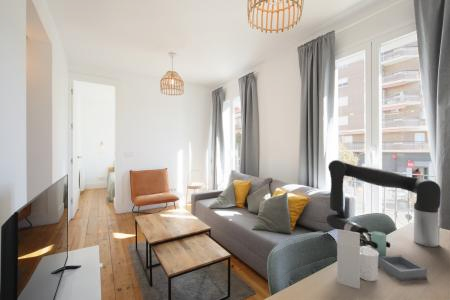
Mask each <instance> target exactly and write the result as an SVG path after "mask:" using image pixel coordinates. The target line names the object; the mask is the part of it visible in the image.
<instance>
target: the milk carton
mask: <svg viewBox="0 0 450 300" xmlns="http://www.w3.org/2000/svg"><path fill="white" fill-rule="evenodd" d="M336 246H337V247H336V248H337V252H336V255H337V256H336V257H337V259H336V260H337V261H336V262H337V264H336V267H337V268H336V271H337V272H336V275H337V277H336V278H337V279H336V280H337V283H338V284H340V285H345V286H348V287H352V288H353V289H354V288H355V289H357V290H360V286H361V284H360V282H361V281H360V280H361V278H360V246H361V243H360V233H357V232H351V231H345V230H339V229H337V242H336Z"/></svg>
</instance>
